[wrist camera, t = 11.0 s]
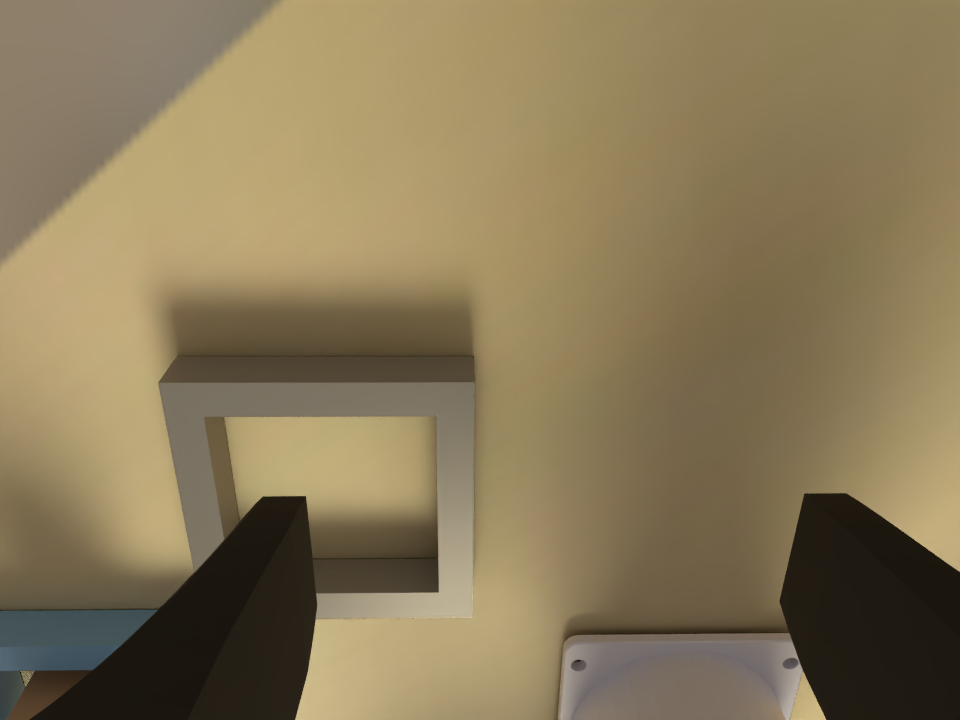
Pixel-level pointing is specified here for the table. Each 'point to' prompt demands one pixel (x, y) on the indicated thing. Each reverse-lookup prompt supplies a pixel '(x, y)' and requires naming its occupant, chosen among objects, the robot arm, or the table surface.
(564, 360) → the table surface
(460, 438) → the frame
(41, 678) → the walnut peg
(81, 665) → the blue rim cradle
